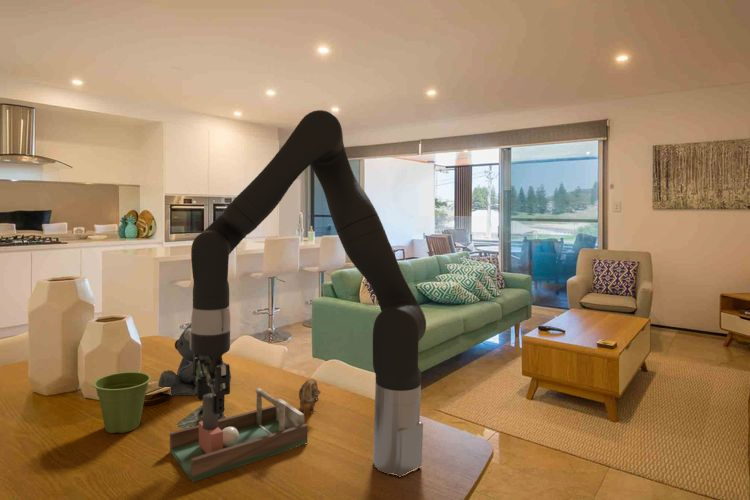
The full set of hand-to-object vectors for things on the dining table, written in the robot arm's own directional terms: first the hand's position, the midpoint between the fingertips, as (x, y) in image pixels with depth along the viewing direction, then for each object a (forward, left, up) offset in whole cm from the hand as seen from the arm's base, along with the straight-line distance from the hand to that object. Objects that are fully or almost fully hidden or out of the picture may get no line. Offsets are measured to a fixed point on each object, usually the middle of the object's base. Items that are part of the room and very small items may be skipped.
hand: (210, 405), depth 99 cm
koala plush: (+40, -12, -11) cm, 43 cm away
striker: (0, 0, -9) cm, 9 cm away
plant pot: (+25, +11, -11) cm, 29 cm away
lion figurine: (+8, -30, -11) cm, 33 cm away
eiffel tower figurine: (+19, -7, -12) cm, 23 cm away
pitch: (0, -6, -11) cm, 13 cm away
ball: (0, -4, -8) cm, 9 cm away
